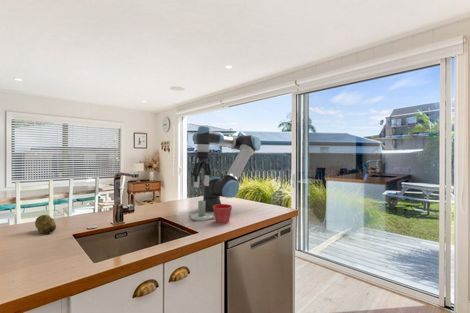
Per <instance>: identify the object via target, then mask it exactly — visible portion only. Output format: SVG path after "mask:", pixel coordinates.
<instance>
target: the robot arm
mask: <svg viewBox="0 0 470 313" xmlns="http://www.w3.org/2000/svg"><path fill="white" fill-rule="evenodd" d="M192 142H193V143H195V144H197V145H196V151H197V152H196V158H195V163H194V167H193V170H192V174H191V175H192V177H194V178H193V179H194V180H193V188H197V189H198V188H199V187H200V186H199V185H200V176H199V175H200V172H201V171H202V168H203V171H204V179H203V182H202V185H203V186H202V187H203V188H202V189H203V191H202V194H203V195H202V196H203V197H202V198H203V199H202V201H205V212H206V213H208V212H209V213H210V212H213V213H214V209H213V206H214V205H217V204H222V202H221V197H222V198H226V199H228V198H230V199H231V198H235V197H236V196H237V195H238V193H239V191H240V185H239V183H240V182H239V179H240V176H241V175H242V173H243V170H244V169H245V167H246V165H247V163H248V161H249V159H250V157H251V156H253V155H255V152H258V151H259V150H260V149H261V147H262V142H261V138H260V137H259V136H258V135H256V134H251V135H229V136H225V135H224V134H223V133H222V132H220V131H213V130H211V127H210V126H208V125H200V126H198V128H197V132H195V133H193V135H192ZM210 146H220V147H227V148H228V149H232V150H238V153H237V155H236V157H235V159H234V161H233V163H232V164H231V166H230V168H229V169H228V171H227V174H224V175H223V177H222V178H221V177H220V176H214V177H213V176H212V171H211V166H210V160H209V159H210V150H211V149H210V148H211V147H210ZM210 176H211V177H210Z"/></svg>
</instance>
